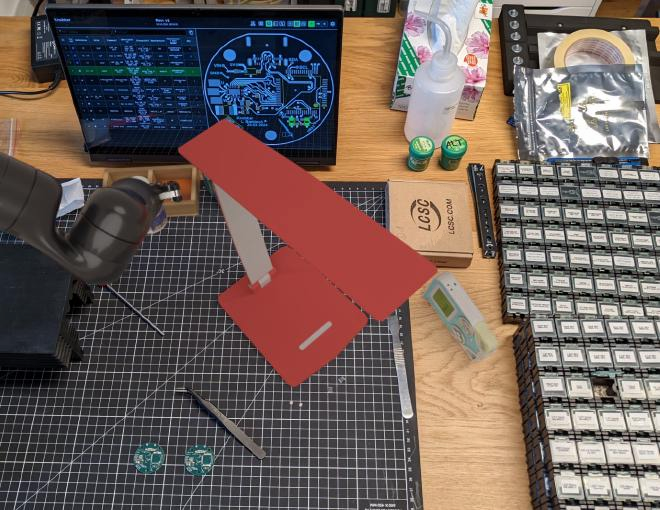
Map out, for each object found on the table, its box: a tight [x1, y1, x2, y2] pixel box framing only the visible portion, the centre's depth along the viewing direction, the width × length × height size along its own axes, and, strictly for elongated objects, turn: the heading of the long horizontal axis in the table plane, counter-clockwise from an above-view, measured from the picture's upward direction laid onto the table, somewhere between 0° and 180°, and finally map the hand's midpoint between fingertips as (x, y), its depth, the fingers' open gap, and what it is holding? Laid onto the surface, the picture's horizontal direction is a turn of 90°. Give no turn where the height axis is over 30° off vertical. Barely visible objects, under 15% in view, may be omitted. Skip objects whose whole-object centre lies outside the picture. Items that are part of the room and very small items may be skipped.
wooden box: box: [101, 164, 201, 218], centre depth 118 cm, size 9×17×4 cm, turn 94°
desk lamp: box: [177, 118, 439, 388], centre depth 89 cm, size 18×38×40 cm, turn 43°
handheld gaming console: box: [420, 270, 499, 364], centre depth 103 cm, size 11×3×15 cm
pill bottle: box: [131, 176, 168, 235], centre depth 99 cm, size 5×5×10 cm
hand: (141, 191), depth 98 cm, fingers closed on pill bottle, 5 cm apart
